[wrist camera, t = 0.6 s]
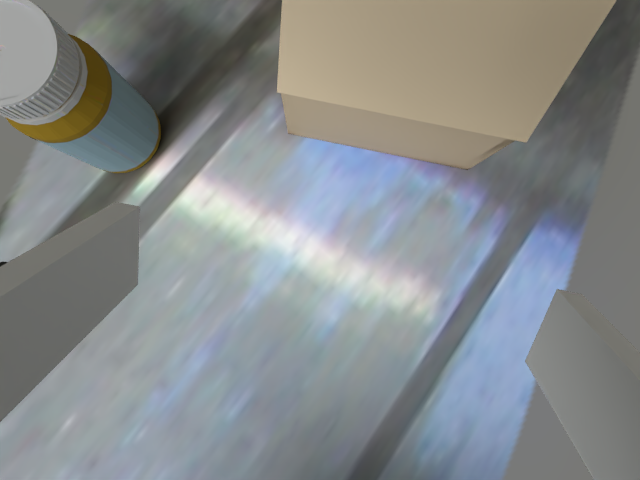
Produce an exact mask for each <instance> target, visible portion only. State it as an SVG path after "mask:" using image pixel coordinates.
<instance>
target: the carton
mask: <svg viewBox="0 0 640 480" xmlns="http://www.w3.org/2000/svg"><path fill="white" fill-rule="evenodd" d="M281 96H282V101H283V107H284V112H285V118H286V123H287V129H288V134H293V135H298V136H303V137H308V138H313V139H318V140H323V141H328V142H333V143H338V144H343V145H347V146H352V147H357V148H362V149H367V150H372V151H377V152H382V153H387V154H392V155H397V156H402V157H407V158H412V159H417V160H422V161H427V162H432V163H437V164H442V165H446V166H451V167H456V168H461V169H466V170H468V169H470V168H471V167H473V166H475V165H476V164H478V163H480V162H481V161H483V160H484V159H486V158H488V157H489V156H491V155H493V154H494V153H496V152H497V151H499V150H501V149H502V148H504V147H506V146H507V145H509V144H510V143H512V142H514V141H515V140H511V139H506V138H501V137H496V136H491V135H486V134H481V133H476V132H471V131H466V130H461V129H456V128H451V127H446V126H441V125H437V124H432V123H427V122H422V121H417V120H412V119H407V118H402V117H397V116H392V115H387V114H382V113H377V112H372V111H367V110H362V109H358V108H353V107H348V106H343V105H338V104H333V103H328V102H323V101H318V100H313V99H308V98H303V97H298V96H293V95H288V94H284V93H281Z"/></svg>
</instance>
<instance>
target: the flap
mask: <svg viewBox="0 0 640 480" xmlns="http://www.w3.org/2000/svg"><path fill="white" fill-rule="evenodd" d="M615 2H616V0H282V13H281V31H280V48H279V66H278V83H277V92H279V93H284V94H288V95H293V96H298V97H303V98H308V99H313V100H318V101H323V102H328V103H333V104H338V105H343V106H348V107H353V108H358V109H362V110H367V111H372V112H377V113H382V114H387V115H392V116H397V117H402V118H407V119H412V120H417V121H422V122H427V123H432V124H437V125H441V126H446V127H451V128H456V129H461V130H466V131H471V132H476V133H481V134H486V135H491V136H496V137H501V138H506V139H511V140H516V141H520V142H525V143H526V142H527V141H528V139H529V138H530V136H531V134H532V133H533V131H534V130H535V128H536V127H537V125H538V123H539V122H540V120H541V119H542V117H543V115H544V114H545V112H546V111H547V109H548V108H549V106H550V104H551V103H552V101H553V100H554V98H555V97H556V95H557V93H558V92H559V90H560V89H561V87H562V86H563V84H564V82H565V81H566V79H567V78H568V76H569V75H570V73H571V71H572V70H573V68H574V67H575V65H576V63H577V62H578V60H579V59H580V57H581V56H582V54H583V52H584V51H585V49H586V48H587V46H588V45H589V43H590V41H591V40H592V38H593V37H594V35H595V34H596V32H597V30H598V29H599V27H600V26H601V24H602V23H603V21H604V19H605V18H606V16H607V15H608V13H609V11H610V10H611V8H612V7H613V5H614V4H615Z"/></svg>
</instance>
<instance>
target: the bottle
mask: <svg viewBox="0 0 640 480" xmlns="http://www.w3.org/2000/svg"><path fill="white" fill-rule="evenodd" d="M0 115H2V116H4V117H5V118H6V119H7V120H8V121H9V123H10V124H11V125H12V126H13V127H15V128H16V129H17V130H19V131H21V132H22V133H24V134H25V135H27V136H29V137H31V138H33V139H35V140H37V141H39V142H42V143H44V144H46V145H48V146H50V147H53V148H55V149H57V150H59V151H61V152H64V153H66V154H68V155H70V156H72V157H75V158H77V159H79V160H81V161H83V162H86V163H88V164H90V165H92V166H94V167H97V168H99V169H102V170H104V171H108V172H112V173H126V172H130V171H133V170H136V169H138V168H140V167H142V166H143V165H144V164H145V163H147V162H148V161H149V160H150V159H151V158H152V156H153V155H154V153H155V152H156V150H157V148H158V145H159V142H160V138H161V127H160V122H159V119H158V117H157V114H156V112H155V111H154V110H153V108H152V107H151V106H150V105H149V104H148V102H147V101H146V100H145V99H144V98H143V97H142V96H141V95H140V94H139V93H138V92H137V91H136V90H135V89H134V88H133V87H132V86H131V85H130V84H129V83H128V82H127V81H126V80H125V79H124V78H123V77H122V76H121V75H120V74H119V73H118V72H117V71H116V70H115V69H114V68H113V67H112V66H111V65H110V64H109V63H108V62H107V61H106V60H105V59H104V58H103V57H102V56H101V55H100V54H99V53H98V52H97V51H95V50H94V49H93V48H92V47H91V46H90V45H89V44H87V43H86V42H84V41H82V40H81V39H79V38H78V37H75V36H73V35H70V34H67V32H66V31H65V30H64V29H63V28H62V27H61V26H60V25H59V24H57V22H55V21H54V20H53V19H52V18H51V17H50V16H49V15H48V14H47V13H46V12H45V11H44V10H42V9H41V8H40V7H39V6H37V5H35V4H34V3H33V2H30V1H28V0H0Z"/></svg>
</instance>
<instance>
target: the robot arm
mask: <svg viewBox="0 0 640 480" xmlns="http://www.w3.org/2000/svg"><path fill="white" fill-rule="evenodd" d="M139 219H140V207H139V206H134V205H129V204H124V203H119V202H114V203H113V204H111V205H109V206H107V207H106V208H104V209H102V210H100V211H98V212H97V213H95V214H93V215H91V216H90V217H88V218H86V219H84V220H82V221H81V222H79V223H77V224H75V225H74V226H72V227H70V228H68V229H66V230H65V231H63V232H61V233H59V234H58V235H56V236H54V237H52V238H50V239H49V240H47V241H45V242H43V243H42V244H40V245H38V246H36V247H34V248H33V249H31V250H29V251H27V252H26V253H24V254H22V255H20V256H18V257H17V258H15V259H13V260H11V261H9V262H0V422H1V421H2V420H3V419H4V418H5V417H6V416H7V415H8V414H9V413H10V412H11V411H12V410H13V409H14V408H15V407H16V406H17V405H18V404H19V403H20V402H21V401H22V400H23V399H24V398H25V397H26V396H27V395H28V394H29V393H30V392H31V391H32V390H33V389H34V388H35V387H36V386H37V385H38V384H39V383H40V382H41V381H42V380H43V379H44V378H45V377H46V376H47V375H48V374H49V373H50V372H51V371H52V370H53V369H54V368H55V367H56V366H57V365H58V364H59V363H60V362H61V361H62V360H63V359H64V358H65V357H66V356H67V355H68V354H69V353H70V352H71V351H72V350H73V349H74V348H75V347H76V346H77V345H78V344H79V343H80V342H81V341H82V340H83V339H84V338H85V337H86V336H87V335H88V334H89V333H90V332H91V331H92V330H93V329H94V328H95V327H96V326H97V325H98V324H99V323H100V322H101V321H102V320H103V319H104V318H105V317H106V316H107V315H108V314H109V313H110V312H111V311H112V310H113V309H114V308H115V307H116V306H117V305H118V304H119V303H120V302H121V301H122V300H123V299H124V298H125V297H126V296H127V295H128V294H129V293H130V292H131V291H132V290H133V289H134V288H135V287H136V286H137V285H138V260H139ZM525 362H526V363H527V365H528V367H529V369H530V370H531V372H532V374H533V376H534V377H535V379H536V381H537V383H538V384H539V386H540V388H541V389H542V391H543V393H544V395H545V396H546V398H547V400H548V402H549V403H550V405H551V407H552V409H553V410H554V412H555V414H556V415H557V417H558V419H559V421H560V422H561V424H562V426H563V428H564V429H565V431H566V433H567V435H568V436H569V438H570V440H571V441H572V443H573V445H574V447H575V448H576V450H577V452H578V453H579V455H580V457H581V459H582V461H583V462H584V464H585V466H586V467H587V469H588V471H589V473H590V474H591V476H592V478H593V479H594V480H640V352H638V351H637V349H636V348H635V347H634V346H633V345H632V344H630V342H629V341H628V340H627V339H626V338H625V337H624V336H623V335H622V334H621V333H620V332H619V331H618V330H617V329H616V328H615V327H614V326H613V325H612V324H611V323H610V322H609V321H608V320H607V319H606V318H605V317H604V316H603V315H602V314H601V313H600V312H599V311H598V310H597V309H596V308H595V307H594V306H593V305H592V304H591V303H590V302H589V301H588V300H587V299H586V298H585V297H584V296H583V295H582V294H579V293H574V292H569V291H564V290H559V289H557V290H556V292H555V295H554V297H553V299H552V301H551V304H550V306H549V308H548V311H547V313H546V315H545V317H544V320H543V322H542V324H541V326H540V329H539V331H538V333H537V335H536V338H535V340H534V342H533V344H532V347H531V349H530V351H529V354H528V356H527V358H526V360H525Z"/></svg>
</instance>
